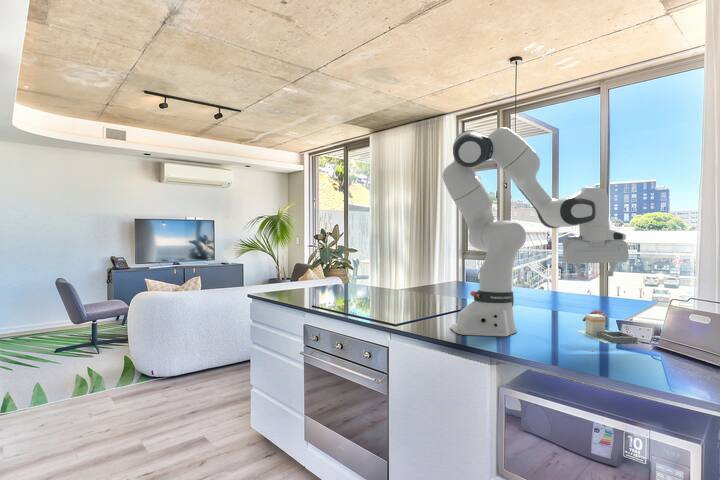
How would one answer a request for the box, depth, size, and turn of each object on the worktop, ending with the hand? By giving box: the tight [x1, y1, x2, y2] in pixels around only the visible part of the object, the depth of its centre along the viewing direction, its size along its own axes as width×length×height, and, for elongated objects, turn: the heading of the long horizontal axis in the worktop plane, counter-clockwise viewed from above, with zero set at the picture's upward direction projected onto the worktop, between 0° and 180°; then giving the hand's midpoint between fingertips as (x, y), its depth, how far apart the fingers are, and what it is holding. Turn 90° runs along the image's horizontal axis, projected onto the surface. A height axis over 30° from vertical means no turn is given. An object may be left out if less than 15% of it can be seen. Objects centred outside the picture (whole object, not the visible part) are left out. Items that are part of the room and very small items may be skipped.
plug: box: [585, 313, 607, 335], centre depth 136 cm, size 4×4×6 cm
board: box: [574, 329, 641, 344], centre depth 132 cm, size 11×17×2 cm, turn 1°
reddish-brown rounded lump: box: [582, 309, 608, 322], centre depth 153 cm, size 10×5×7 cm, turn 169°
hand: (595, 276), depth 137 cm, fingers open, 8 cm apart
